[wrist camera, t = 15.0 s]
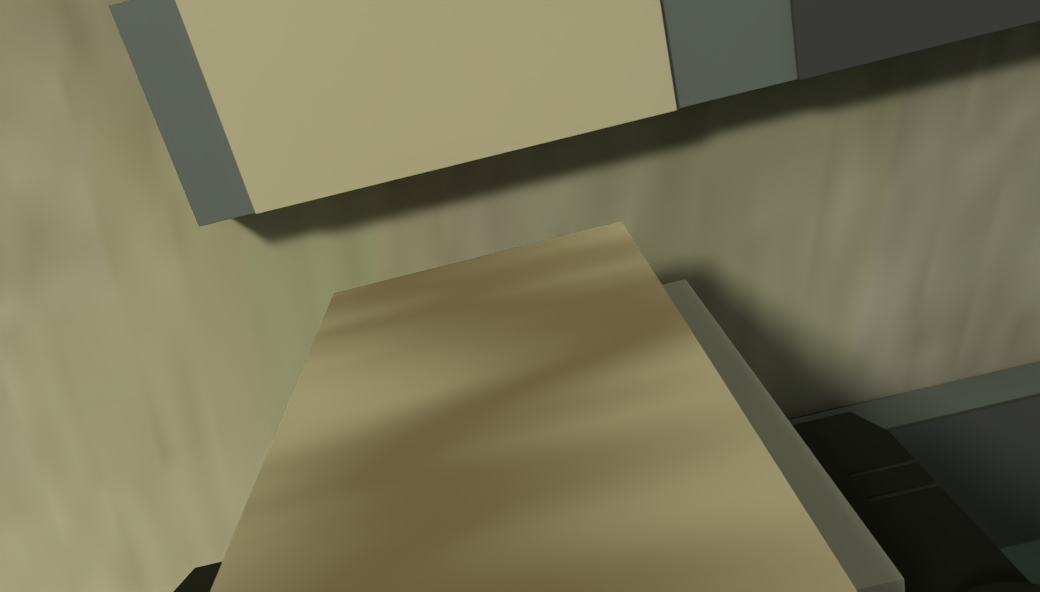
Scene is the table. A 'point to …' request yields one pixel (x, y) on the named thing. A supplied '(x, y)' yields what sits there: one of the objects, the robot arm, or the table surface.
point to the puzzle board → (550, 134)
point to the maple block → (520, 444)
